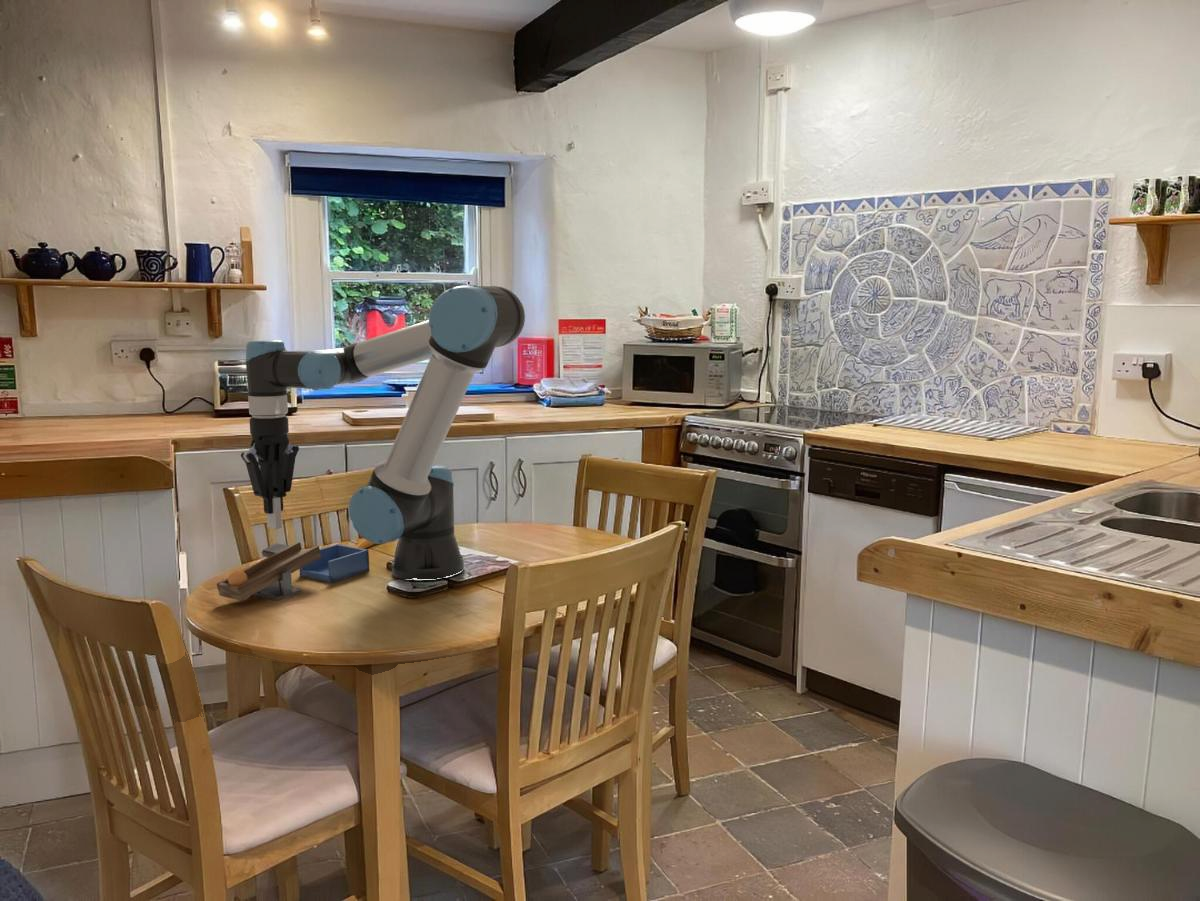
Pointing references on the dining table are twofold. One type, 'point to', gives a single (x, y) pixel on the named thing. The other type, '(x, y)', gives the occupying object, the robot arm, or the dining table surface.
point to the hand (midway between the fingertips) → (274, 527)
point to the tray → (337, 563)
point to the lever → (270, 569)
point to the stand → (279, 588)
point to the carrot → (364, 544)
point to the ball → (237, 578)
